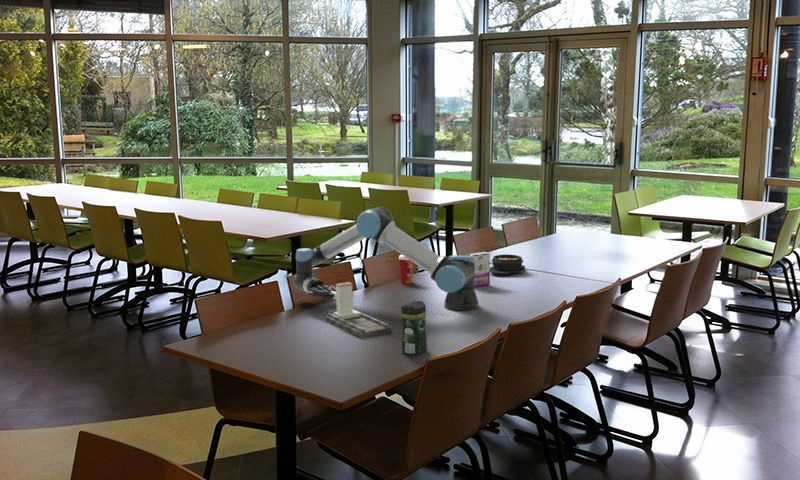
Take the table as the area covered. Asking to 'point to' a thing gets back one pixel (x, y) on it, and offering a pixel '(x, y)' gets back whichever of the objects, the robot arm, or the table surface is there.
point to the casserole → (507, 264)
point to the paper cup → (405, 269)
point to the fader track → (360, 325)
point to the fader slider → (345, 301)
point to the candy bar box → (481, 268)
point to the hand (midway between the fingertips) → (339, 297)
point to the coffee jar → (413, 328)
